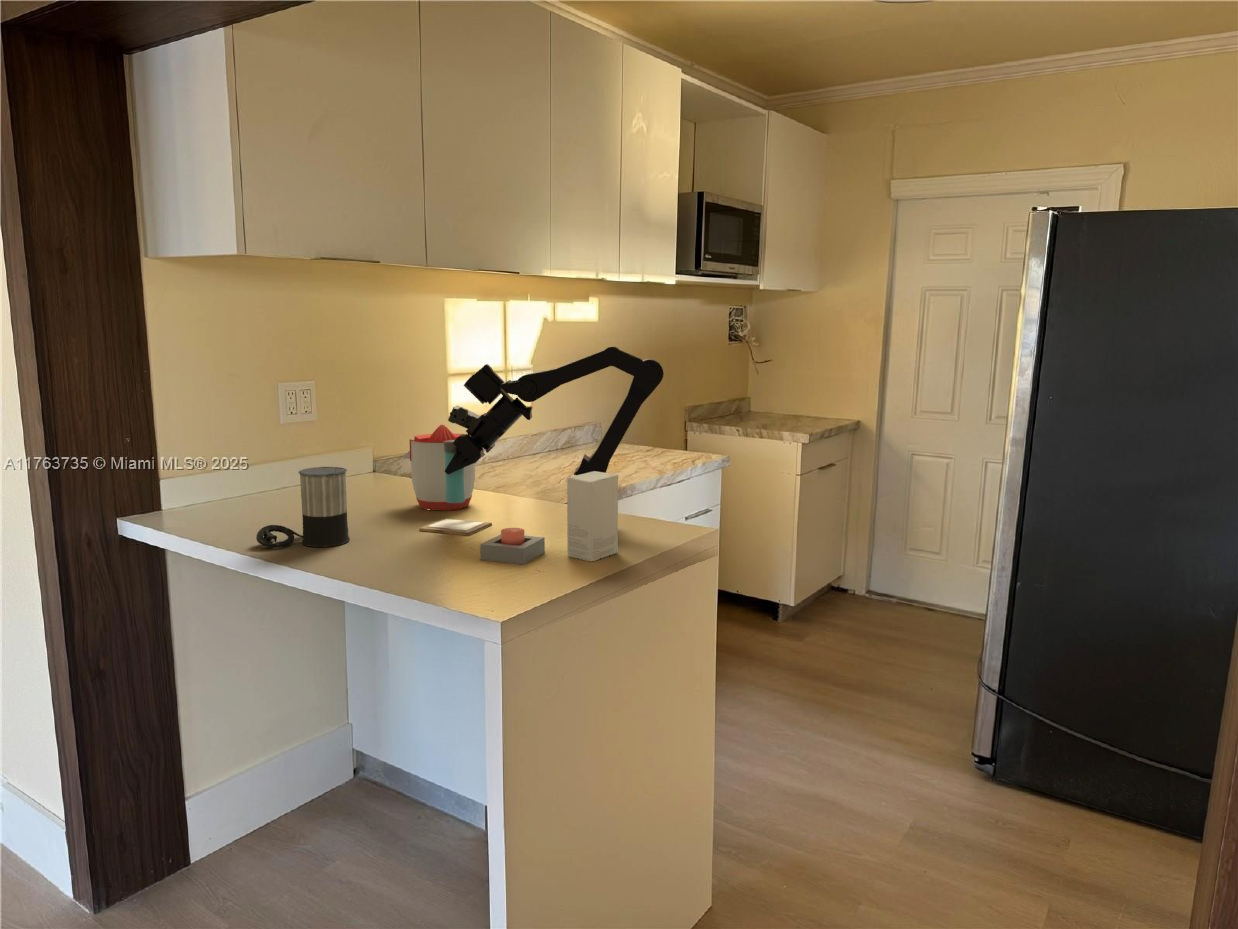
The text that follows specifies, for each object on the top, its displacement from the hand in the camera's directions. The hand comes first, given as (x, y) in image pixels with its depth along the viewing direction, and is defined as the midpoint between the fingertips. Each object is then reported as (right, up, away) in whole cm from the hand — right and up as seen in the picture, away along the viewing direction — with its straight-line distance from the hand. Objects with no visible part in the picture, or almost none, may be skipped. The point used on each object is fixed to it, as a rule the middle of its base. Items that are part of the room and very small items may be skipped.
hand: (448, 471), depth 182 cm
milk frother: (-26, -15, -12) cm, 32 cm away
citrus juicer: (-7, -9, +24) cm, 26 cm away
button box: (+16, -16, -20) cm, 31 cm away
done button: (+16, -14, -21) cm, 30 cm away
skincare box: (+32, -16, -19) cm, 40 cm away
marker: (+1, -7, +1) cm, 7 cm away
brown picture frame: (+1, -12, +2) cm, 13 cm away
